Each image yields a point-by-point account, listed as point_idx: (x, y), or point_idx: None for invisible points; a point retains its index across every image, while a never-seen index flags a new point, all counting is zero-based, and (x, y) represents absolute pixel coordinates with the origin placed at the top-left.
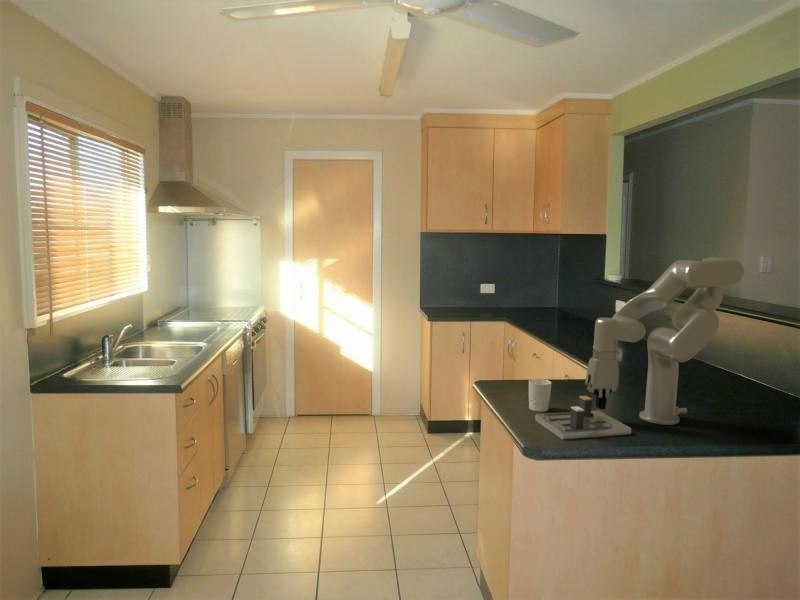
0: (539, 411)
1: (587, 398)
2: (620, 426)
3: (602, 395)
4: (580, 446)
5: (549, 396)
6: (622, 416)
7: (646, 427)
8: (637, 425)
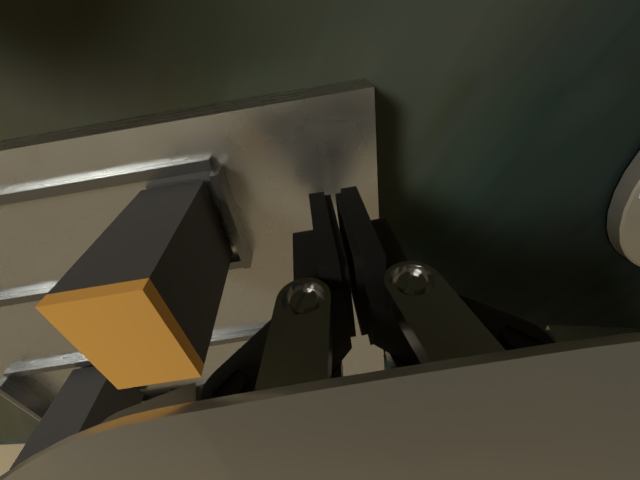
0: None
1: (149, 370)
2: (345, 362)
3: (372, 322)
4: None
5: None
6: (552, 98)
7: (516, 283)
8: (496, 260)
